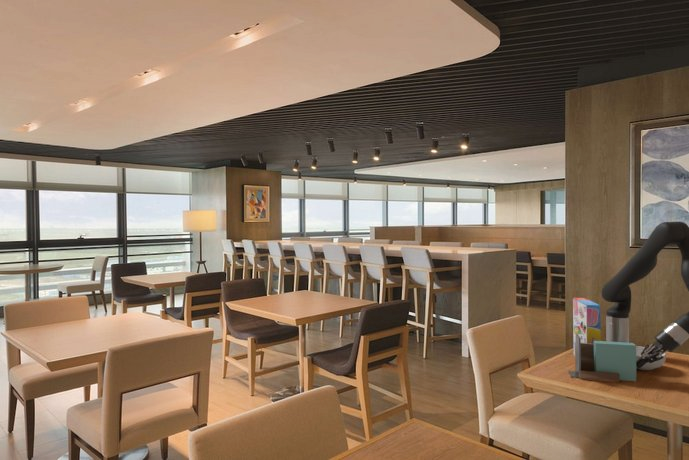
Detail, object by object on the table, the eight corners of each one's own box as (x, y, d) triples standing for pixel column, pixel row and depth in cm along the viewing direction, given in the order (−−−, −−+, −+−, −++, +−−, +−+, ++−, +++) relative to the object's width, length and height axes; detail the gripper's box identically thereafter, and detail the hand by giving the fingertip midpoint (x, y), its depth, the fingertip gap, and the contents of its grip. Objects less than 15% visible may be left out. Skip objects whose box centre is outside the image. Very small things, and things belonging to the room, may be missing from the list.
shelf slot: (575, 371, 192) (575, 342, 191) (612, 374, 187) (612, 344, 187) (579, 378, 182) (579, 348, 182) (619, 382, 178) (619, 351, 178)
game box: (601, 369, 193) (601, 305, 193) (587, 369, 194) (586, 305, 194) (585, 355, 213) (585, 297, 213) (572, 355, 215) (572, 297, 214)
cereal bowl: (618, 359, 207) (618, 343, 207) (662, 364, 199) (662, 348, 199) (620, 370, 192) (620, 353, 192) (668, 376, 184) (668, 358, 184)
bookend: (568, 371, 191) (567, 333, 191) (577, 372, 190) (577, 333, 190) (570, 377, 184) (570, 337, 184) (580, 377, 183) (580, 338, 183)
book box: (593, 374, 187) (593, 340, 186) (633, 377, 182) (632, 342, 182) (596, 378, 183) (596, 343, 182) (636, 381, 179) (636, 345, 178)
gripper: (657, 326, 184) (623, 354, 187) (670, 333, 171) (633, 364, 175) (673, 339, 182) (638, 368, 186) (687, 348, 170) (649, 379, 173)
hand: (636, 366), depth 180 cm, fingers closed
